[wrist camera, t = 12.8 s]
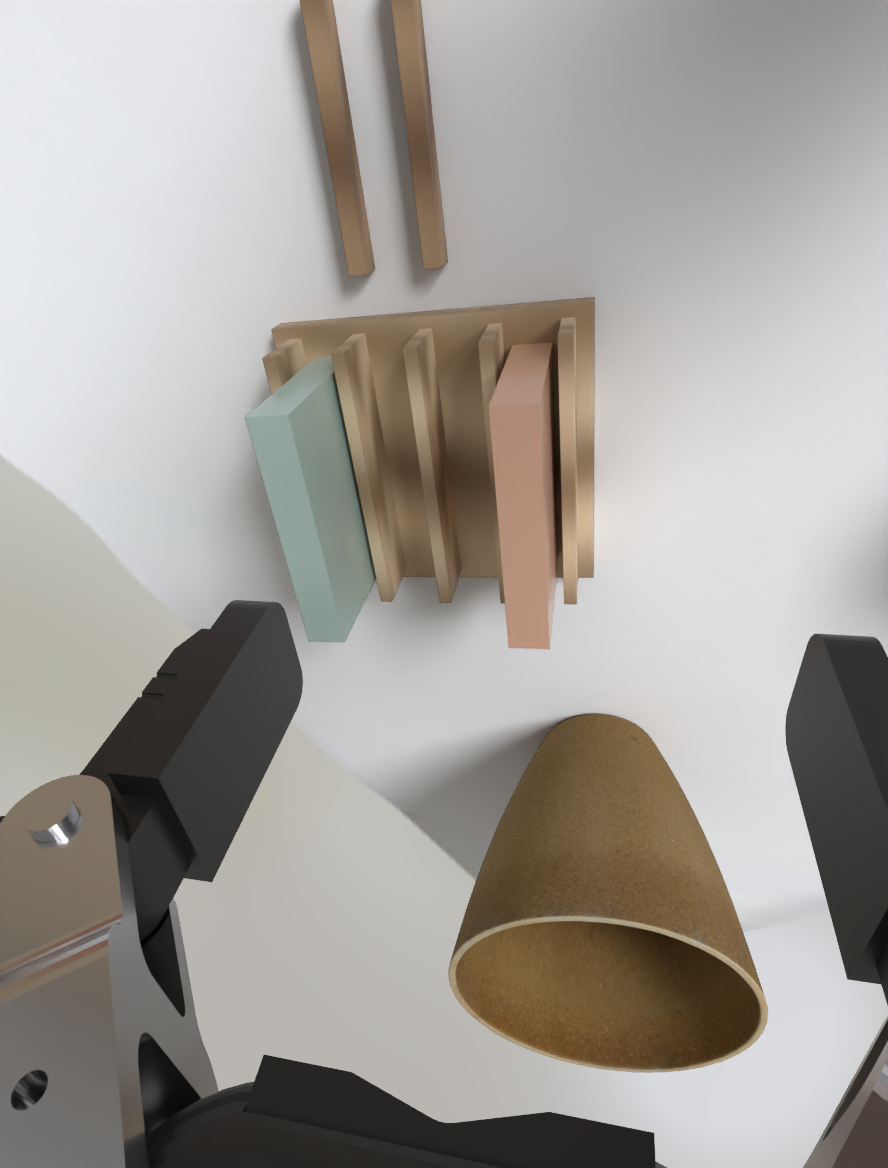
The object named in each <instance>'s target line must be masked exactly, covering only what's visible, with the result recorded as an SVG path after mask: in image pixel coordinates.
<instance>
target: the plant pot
mask: <svg viewBox="0 0 888 1168" xmlns="http://www.w3.org/2000/svg"><path fill="white" fill-rule="evenodd" d="M449 981H450V986H451V988H452V991H453V993H454V995H455V997H456V999H457V1000H458V1002H459V1003H460V1004H461V1005H462V1006H463V1008H464V1009H465V1010H466V1011H467V1012H468V1013H469V1014H470V1015H471V1016H472V1017H473V1018H475V1019H476V1020H477V1021H479V1022H480V1023H481V1024H482V1025H484V1026H485V1027H486V1028H488V1029H489V1030H491V1031H492V1032H494V1033H495V1034H497V1035H499V1036H501V1037H503V1038H505V1039H506V1040H508V1041H510V1042H512V1043H515V1044H517V1045H519V1046H521V1047H524V1048H526V1049H528V1050H531V1051H534V1052H537V1053H539V1054H542V1055H545V1056H548V1057H551V1058H554V1059H558V1060H561V1061H565V1062H570V1063H573V1064H577V1065H582V1066H587V1067H593V1068H598V1069H606V1070H616V1071H626V1072H671V1071H682V1070H689V1069H695V1068H700V1067H704V1066H708V1065H711V1064H715V1063H718V1062H722V1061H725V1060H727V1059H729V1058H731V1057H733V1056H735V1055H738V1054H739V1053H741V1052H743V1051H744V1050H746V1049H747V1048H749V1047H750V1046H751V1045H752V1044H753V1043H754V1042H756V1041H757V1040H758V1038H759V1037H760V1036H761V1034H762V1033H763V1031H764V1029H765V1026H766V1024H767V1017H768V1007H767V1003H766V1000H765V997H764V993H763V990H762V987H761V984H760V981H759V978H758V975H757V972H756V969H755V966H754V963H753V960H752V957H751V954H750V951H749V948H748V945H747V943H746V940H745V937H744V934H743V931H742V928H741V925H740V922H739V920H738V917H737V914H736V911H735V908H734V905H733V902H732V900H731V897H730V895H729V892H728V889H727V887H726V884H725V882H724V879H723V876H722V874H721V872H720V869H719V867H718V864H717V862H716V860H715V857H714V855H713V852H712V850H711V848H710V846H709V843H708V841H707V839H706V837H705V834H704V832H703V830H702V828H701V826H700V824H699V822H698V820H697V818H696V816H695V814H694V812H693V810H692V808H691V806H690V804H689V802H688V800H687V798H686V796H685V794H684V792H683V790H682V788H681V787H680V785H679V783H678V781H677V780H676V778H675V776H674V774H673V773H672V771H671V769H670V767H669V766H668V764H667V762H666V761H665V759H664V758H663V756H662V755H661V753H660V751H659V750H658V748H657V747H656V745H655V744H654V742H653V740H652V739H651V738H650V736H649V735H648V734H647V733H646V732H645V731H644V730H643V729H641V728H640V727H639V726H637V725H636V724H634V723H632V722H630V721H628V720H625V719H623V718H619V717H616V716H611V715H604V714H587V715H581V716H576V717H573V718H570V719H567V720H565V721H563V722H562V723H560V724H558V725H557V726H555V727H554V728H553V729H552V730H551V731H550V732H549V734H548V735H547V737H546V738H545V740H544V741H543V743H542V744H541V746H540V747H539V749H538V751H537V752H536V754H535V755H534V757H533V759H532V760H531V762H530V764H529V765H528V767H527V769H526V771H525V772H524V774H523V776H522V778H521V780H520V782H519V783H518V785H517V787H516V789H515V791H514V793H513V795H512V797H511V799H510V801H509V803H508V805H507V807H506V809H505V812H504V814H503V816H502V818H501V820H500V822H499V825H498V827H497V829H496V832H495V834H494V836H493V839H492V841H491V843H490V846H489V849H488V851H487V854H486V856H485V859H484V861H483V864H482V866H481V869H480V872H479V874H478V877H477V880H476V883H475V886H474V889H473V892H472V894H471V897H470V900H469V903H468V906H467V909H466V912H465V916H464V919H463V922H462V925H461V929H460V932H459V935H458V938H457V942H456V945H455V949H454V952H453V955H452V959H451V962H450V967H449Z"/></svg>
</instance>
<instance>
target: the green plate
mask: <svg viewBox="0 0 888 1168" xmlns="http://www.w3.org/2000/svg"><path fill="white" fill-rule="evenodd" d="M245 420H246V423H247V427H248V430H249V434H250V437H251V441H252V444H253V448H254V451H255V455H256V458H257V462H258V465H259V469H260V472H261V476H262V479H263V483H264V486H265V490H266V493H267V497H268V500H269V504H270V507H271V511H272V514H273V518H274V521H275V525H276V528H277V532H278V535H279V539H280V542H281V546H282V549H283V553H284V556H285V560H286V563H287V567H288V570H289V574H290V577H291V581H292V584H293V588H294V591H295V595H296V598H297V602H298V605H299V609H300V612H301V616H302V619H303V623H304V626H305V630H306V633H307V637H308V640H309V641H313V642H345V641H346V639H347V637H348V635H349V633H350V630H351V628H352V626H353V624H354V622H355V620H356V618H357V616H358V614H359V612H360V610H361V608H362V606H363V604H364V602H365V600H366V598H367V596H368V594H369V592H370V590H371V588H372V585H373V583H374V581H375V579H376V573H375V568H374V563H373V559H372V554H371V549H370V544H369V539H368V534H367V529H366V524H365V519H364V514H363V509H362V505H361V500H360V495H359V490H358V485H357V480H356V475H355V470H354V465H353V460H352V456H351V451H350V446H349V441H348V436H347V431H346V426H345V421H344V416H343V411H342V406H341V402H340V397H339V392H338V387H337V382H336V377H335V372H334V367H333V362H332V357H320V358H315V359H313V360H312V361H311V362H310V363H309V364H307V365H306V366H305V367H304V368H303V369H301V370H300V371H299V372H298V373H297V374H296V375H294V376H293V377H292V378H291V379H290V380H288V381H287V382H286V383H285V384H284V385H282V386H281V387H280V388H279V389H278V390H277V391H275V392H274V393H273V394H272V395H271V396H269V397H268V398H267V399H266V400H265V401H263V402H262V403H261V404H260V405H259V406H257V407H256V408H255V409H254V410H253V411H252V412H250V413H249V414H248V415H247V416H246V417H245Z"/></svg>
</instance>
